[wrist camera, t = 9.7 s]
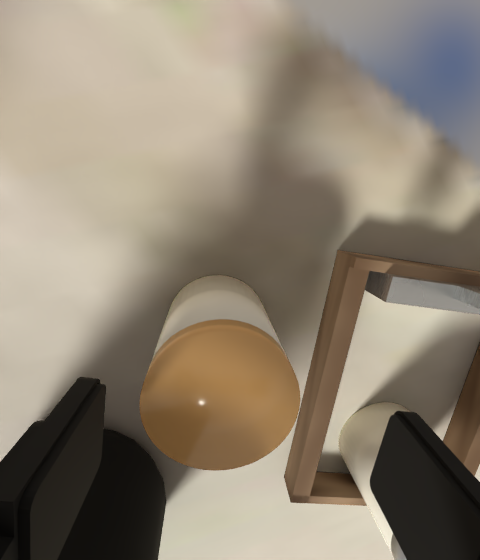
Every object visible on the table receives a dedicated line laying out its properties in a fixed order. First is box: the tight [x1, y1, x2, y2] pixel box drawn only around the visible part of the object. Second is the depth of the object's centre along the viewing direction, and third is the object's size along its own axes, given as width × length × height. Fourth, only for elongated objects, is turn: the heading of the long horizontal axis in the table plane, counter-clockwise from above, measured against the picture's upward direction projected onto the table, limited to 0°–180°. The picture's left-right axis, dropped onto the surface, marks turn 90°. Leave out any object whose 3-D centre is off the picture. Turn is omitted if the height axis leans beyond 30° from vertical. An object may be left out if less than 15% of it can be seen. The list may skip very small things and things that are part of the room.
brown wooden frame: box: [284, 250, 480, 506], centre depth 20 cm, size 13×17×2 cm
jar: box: [139, 275, 300, 470], centre depth 15 cm, size 6×6×8 cm
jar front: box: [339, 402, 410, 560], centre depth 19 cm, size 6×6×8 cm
